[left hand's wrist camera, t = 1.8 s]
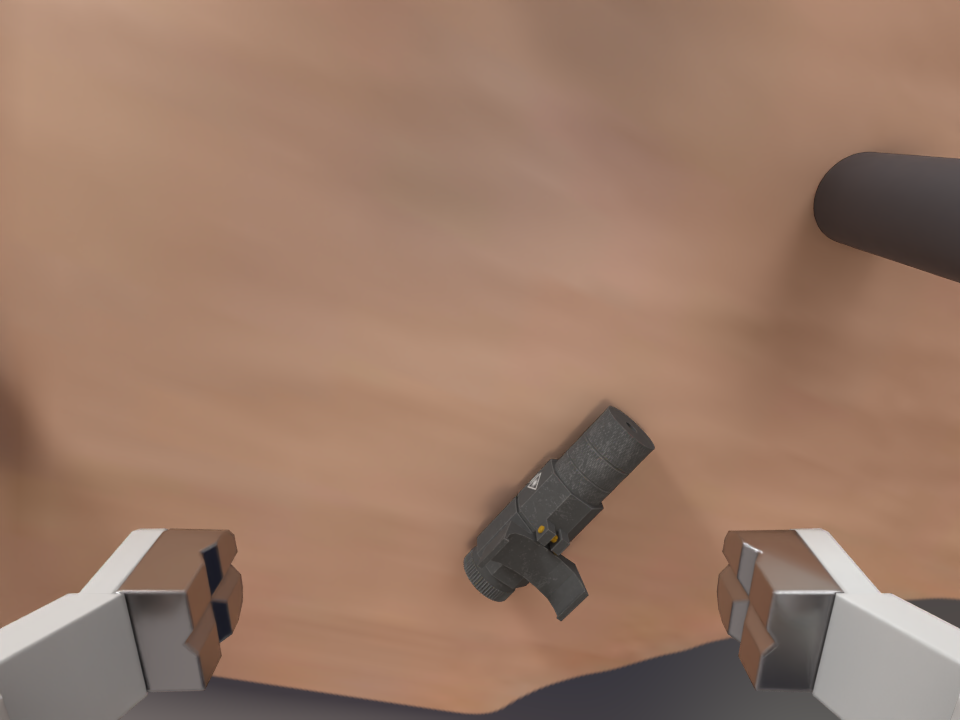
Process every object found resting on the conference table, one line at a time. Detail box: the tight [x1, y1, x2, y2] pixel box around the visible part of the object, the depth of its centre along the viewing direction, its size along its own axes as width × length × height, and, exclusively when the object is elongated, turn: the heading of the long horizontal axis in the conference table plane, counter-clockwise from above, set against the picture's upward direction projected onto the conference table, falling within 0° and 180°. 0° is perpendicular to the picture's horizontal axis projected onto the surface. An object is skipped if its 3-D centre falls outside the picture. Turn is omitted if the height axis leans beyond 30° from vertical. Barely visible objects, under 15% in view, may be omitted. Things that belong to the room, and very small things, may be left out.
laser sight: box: [464, 406, 655, 621], centre depth 61 cm, size 10×22×10 cm, turn 142°
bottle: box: [814, 152, 960, 283], centre depth 44 cm, size 8×8×24 cm
